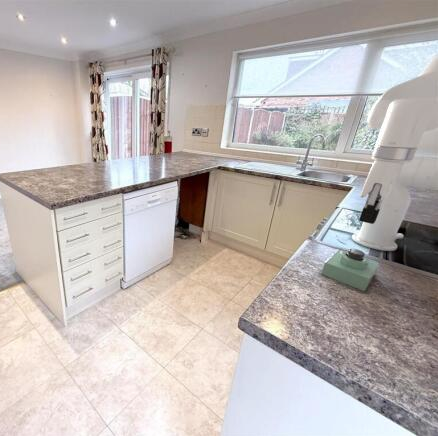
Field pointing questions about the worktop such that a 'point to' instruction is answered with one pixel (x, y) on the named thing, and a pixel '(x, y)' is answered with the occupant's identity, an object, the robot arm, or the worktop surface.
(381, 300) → the worktop surface
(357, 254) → the grey metal rounded piece
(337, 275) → the green stepped base
